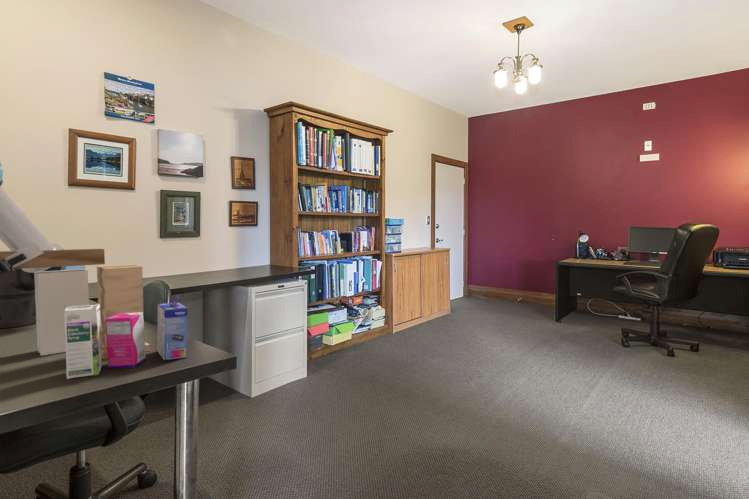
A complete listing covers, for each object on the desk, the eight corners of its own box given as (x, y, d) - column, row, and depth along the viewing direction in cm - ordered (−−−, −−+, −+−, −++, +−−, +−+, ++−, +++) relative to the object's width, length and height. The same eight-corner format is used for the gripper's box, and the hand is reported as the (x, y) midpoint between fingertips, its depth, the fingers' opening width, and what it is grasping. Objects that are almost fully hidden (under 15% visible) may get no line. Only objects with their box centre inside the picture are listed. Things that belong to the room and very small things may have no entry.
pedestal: (37, 350, 103) (34, 272, 102) (85, 342, 110) (82, 269, 109) (41, 356, 99) (37, 274, 98) (90, 347, 106) (87, 270, 105)
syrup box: (65, 379, 84) (63, 310, 83) (71, 370, 89) (68, 305, 88) (99, 375, 86) (96, 307, 86) (102, 366, 92) (100, 302, 91)
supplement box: (120, 360, 96) (118, 312, 95) (146, 359, 97) (145, 312, 96) (106, 368, 90) (104, 317, 90) (134, 368, 91) (132, 317, 90)
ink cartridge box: (189, 357, 98) (188, 298, 97) (164, 362, 95) (162, 300, 94) (180, 347, 106) (179, 292, 105) (156, 351, 103) (155, 294, 102)
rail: (-10, 268, 95) (-11, 251, 95) (101, 263, 111) (100, 248, 111) (-9, 269, 92) (-10, 252, 92) (104, 264, 108) (104, 249, 108)
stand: (94, 350, 103) (91, 266, 102) (137, 342, 110) (135, 263, 109) (104, 359, 96) (100, 269, 95) (150, 350, 103) (147, 266, 102)
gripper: (-102, 296, 78) (32, 235, 92) (-94, 287, 90) (24, 234, 104) (-71, 326, 81) (54, 262, 95) (-68, 313, 93) (43, 258, 107)
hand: (38, 247), depth 100 cm, fingers closed on rail, 4 cm apart
